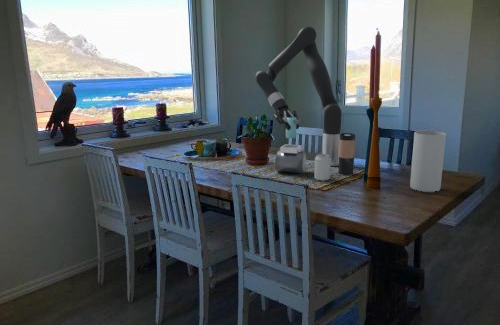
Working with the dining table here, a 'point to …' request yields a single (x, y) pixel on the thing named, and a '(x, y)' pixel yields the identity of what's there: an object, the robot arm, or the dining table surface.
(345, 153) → the travel mug
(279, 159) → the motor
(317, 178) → the can
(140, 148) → the dining table surface
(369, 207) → the dining table surface
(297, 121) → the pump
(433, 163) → the cylinder vase
